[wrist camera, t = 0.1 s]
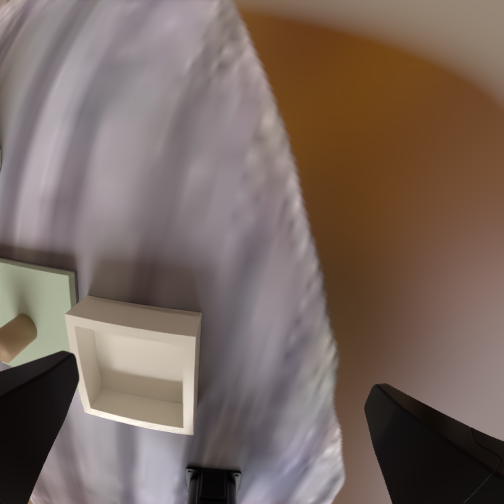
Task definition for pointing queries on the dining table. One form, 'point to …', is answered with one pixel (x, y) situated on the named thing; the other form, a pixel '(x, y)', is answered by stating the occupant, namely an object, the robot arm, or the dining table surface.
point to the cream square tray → (137, 362)
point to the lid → (33, 311)
